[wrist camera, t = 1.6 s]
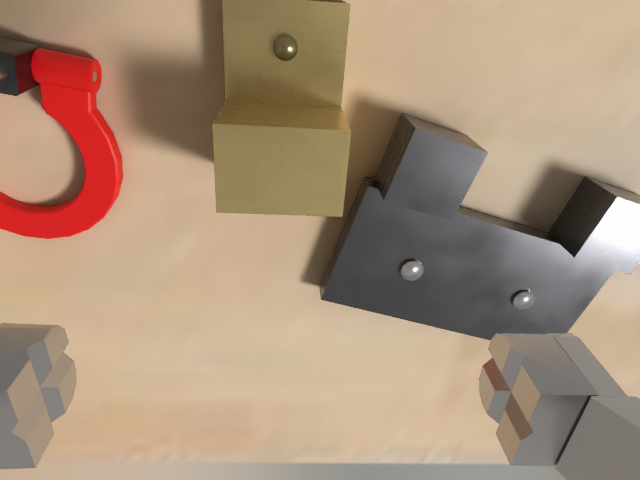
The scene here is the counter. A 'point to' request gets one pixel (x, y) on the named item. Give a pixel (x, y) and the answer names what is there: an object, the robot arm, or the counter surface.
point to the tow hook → (82, 124)
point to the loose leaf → (282, 109)
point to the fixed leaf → (473, 245)
